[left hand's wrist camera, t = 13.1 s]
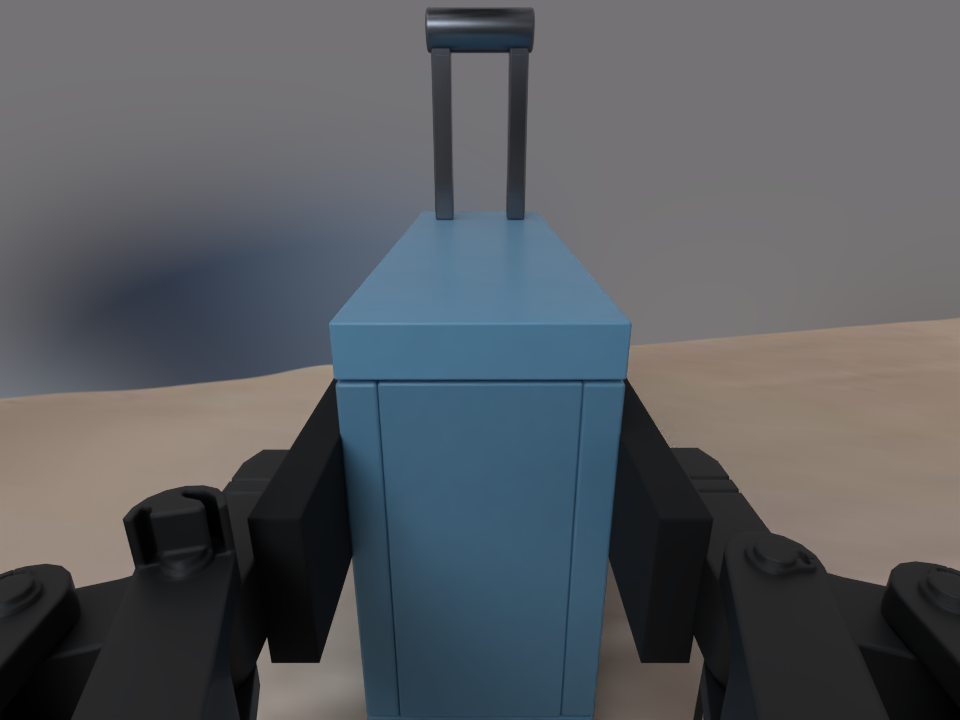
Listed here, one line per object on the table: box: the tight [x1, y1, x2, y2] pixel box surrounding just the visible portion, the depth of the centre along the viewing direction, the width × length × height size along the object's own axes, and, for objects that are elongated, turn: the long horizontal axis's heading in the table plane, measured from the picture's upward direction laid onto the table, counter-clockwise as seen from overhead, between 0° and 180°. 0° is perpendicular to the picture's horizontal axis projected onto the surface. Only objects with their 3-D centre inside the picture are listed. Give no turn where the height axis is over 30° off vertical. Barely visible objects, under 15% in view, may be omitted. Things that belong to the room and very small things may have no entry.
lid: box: [329, 7, 631, 380], centre depth 16 cm, size 17×5×8 cm, turn 0°
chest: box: [336, 380, 625, 720], centre depth 19 cm, size 16×5×9 cm, turn 0°
